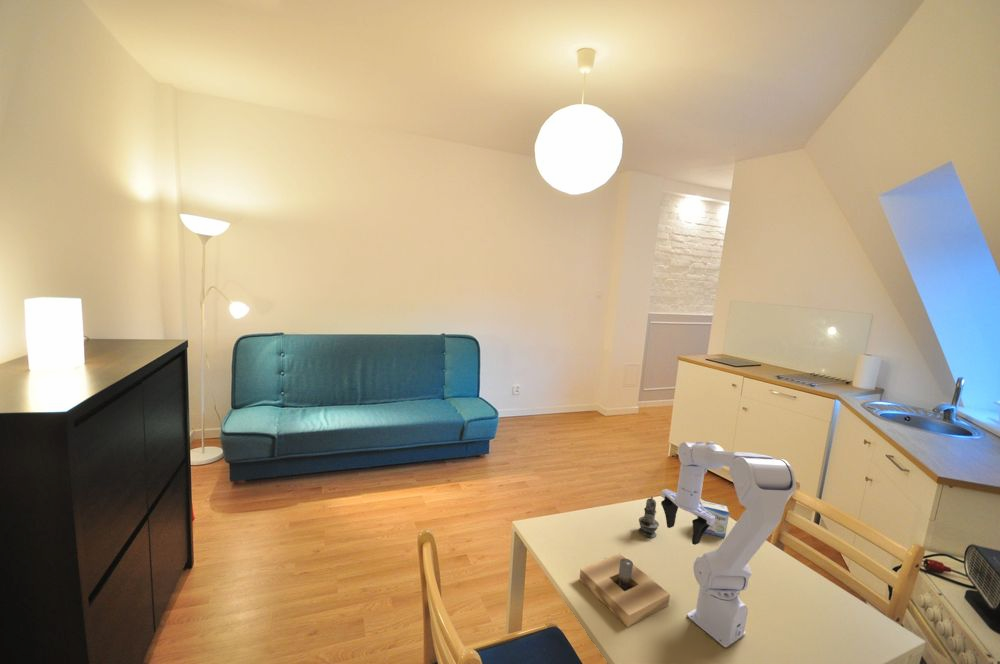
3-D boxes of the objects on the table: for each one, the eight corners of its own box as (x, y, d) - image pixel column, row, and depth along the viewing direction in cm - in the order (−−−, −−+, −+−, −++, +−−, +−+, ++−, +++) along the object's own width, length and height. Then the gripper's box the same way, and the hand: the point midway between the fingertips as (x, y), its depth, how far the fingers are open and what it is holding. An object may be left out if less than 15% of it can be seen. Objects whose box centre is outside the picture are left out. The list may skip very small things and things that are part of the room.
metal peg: (631, 593, 102) (635, 563, 101) (624, 598, 100) (628, 568, 99) (621, 585, 105) (624, 556, 103) (614, 590, 103) (617, 561, 102)
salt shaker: (654, 528, 130) (659, 492, 129) (659, 540, 124) (664, 502, 123) (635, 525, 131) (640, 490, 129) (639, 537, 125) (644, 500, 123)
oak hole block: (668, 605, 99) (670, 594, 99) (627, 627, 92) (629, 615, 92) (618, 563, 113) (619, 553, 112) (579, 579, 106) (580, 568, 105)
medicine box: (697, 531, 130) (701, 506, 129) (695, 524, 134) (699, 499, 133) (725, 538, 128) (729, 512, 127) (722, 530, 132) (726, 504, 131)
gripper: (725, 497, 104) (717, 546, 106) (675, 472, 117) (669, 516, 119) (708, 503, 101) (700, 554, 103) (659, 476, 113) (652, 522, 115)
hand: (682, 534), depth 110 cm, fingers open, 7 cm apart
